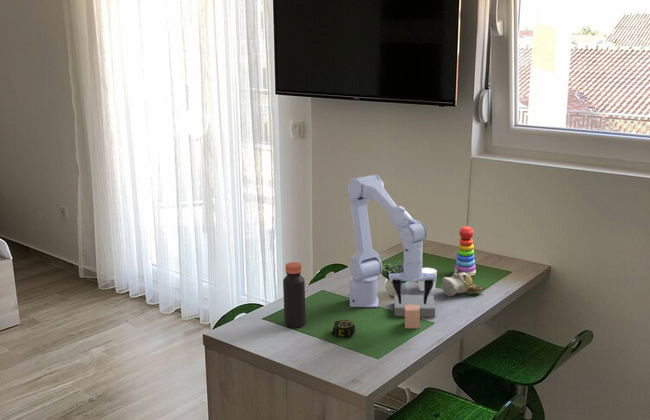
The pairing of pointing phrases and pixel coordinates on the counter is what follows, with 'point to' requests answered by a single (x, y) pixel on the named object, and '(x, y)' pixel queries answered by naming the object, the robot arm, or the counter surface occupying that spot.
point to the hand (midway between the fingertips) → (412, 302)
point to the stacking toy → (466, 252)
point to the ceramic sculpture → (459, 284)
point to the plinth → (425, 309)
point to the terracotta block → (412, 316)
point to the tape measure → (343, 328)
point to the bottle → (294, 296)
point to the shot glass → (429, 271)
